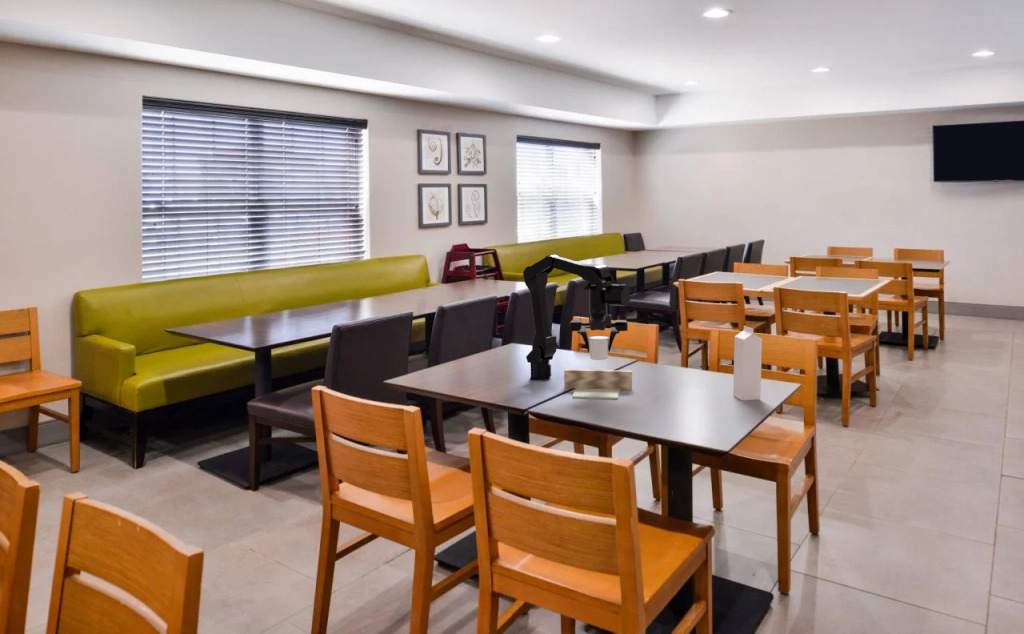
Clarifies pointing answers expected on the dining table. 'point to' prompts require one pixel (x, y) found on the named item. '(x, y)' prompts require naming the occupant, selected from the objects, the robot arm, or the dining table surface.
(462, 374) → the dining table surface
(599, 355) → the white cup
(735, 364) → the milk
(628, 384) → the board
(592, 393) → the pad
